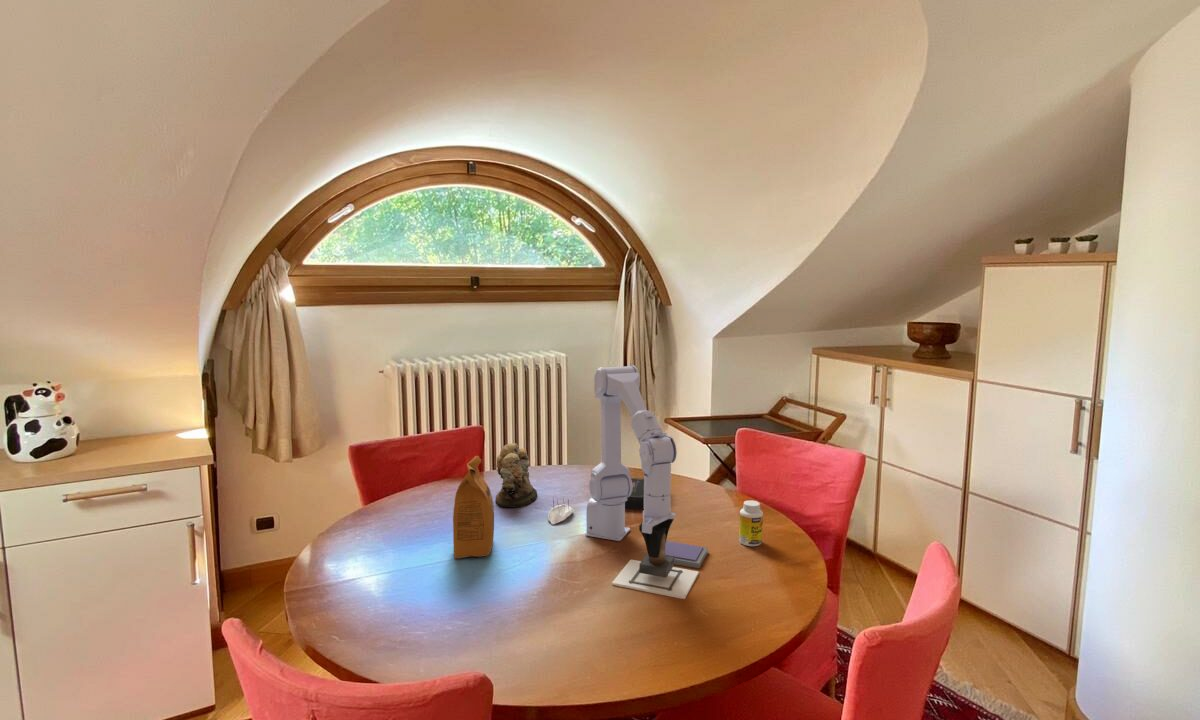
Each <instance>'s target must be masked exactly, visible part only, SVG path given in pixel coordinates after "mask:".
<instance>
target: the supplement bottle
mask: <svg viewBox="0 0 1200 720" xmlns="http://www.w3.org/2000/svg"><path fill="white" fill-rule="evenodd" d="M760 503H761V502H759V501H757V500H745V501H744V502H743V508H741V509H740V510H739V530H738V541H739V543H740V544H741V545H744V546H748V547H757V546H761V544H762V543H763V542H762V541H763V522H764V521H763V520H764V512H763V511H762V510H761V504H760Z"/></svg>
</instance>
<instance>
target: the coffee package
mask: <svg viewBox="0 0 1200 720" xmlns="http://www.w3.org/2000/svg"><path fill="white" fill-rule="evenodd" d="M481 463H482V459H481V458H480V456H479V455H475V456H474V457H473V458H472V459H471V460H470V461H469V462H467V464H466V467H467V468H466V469H467V472H466V474H465V476H464V478H462V480H461V482H460V484H459V485H458V488H457V489H456V492H455V497H454V505H453V513H452V524H453V525H452V527H453V528H452V529H453V530H452V531H453V533H452V535H453V536H452V538H453V539H452V541H453V556H454V558H455V559H457V560H458V559H462V558H469V557H476V558H477V557H485V556H489V555H491V551H492V547H493V543H494V534H495V511H494V502H493V501H494V500H493V495H492V493H491V488H490V487H489V485H488V483H487V481H486V480H485V479H484V478H483V476H481V473H480V470H479V468H478V467H479V465H480V464H481Z"/></svg>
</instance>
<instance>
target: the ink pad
mask: <svg viewBox="0 0 1200 720" xmlns="http://www.w3.org/2000/svg"><path fill="white" fill-rule="evenodd" d="M708 554H709V547H706V546H701V545H696V544H695V545H694V544H689V543H682V542H676V541H670V540H666V544H665V555H666V556H672V557H674V565H678V566H683V567H688V568H693V569H700V568H701V566H702V564H703V562H704V560H705V559H706V557H707V555H708Z"/></svg>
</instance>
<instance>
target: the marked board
mask: <svg viewBox="0 0 1200 720" xmlns="http://www.w3.org/2000/svg"><path fill="white" fill-rule="evenodd" d="M641 561H642V560H636V559H630V560H628V562H627V563H626V564H625V566H624V567H623V568H622V569H621V570H620V572H619V573H618V575H617V576H615V578H614V579H613V581H612V582H611V585H612V586H615V587H616V586H617V587H621V588H627V589H632V590H637V591H642V592H646V593H651V594H656V595H661V596H666V597H670V598H676V599H681V600H686V597H687V596H688V594H689V593H690V590H691V588H692V587H693V585H694V584H695V581H696V579H697V578H698V576H699V571H697V570H691V569H686V568H681V567H676V566H675V567H674V566H673V568H672V569H671V571H670V573H669V574H668V576H667V577H666V578H665V577H660V576H654V575H649V574H643V573H639V564H640V563H641Z"/></svg>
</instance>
